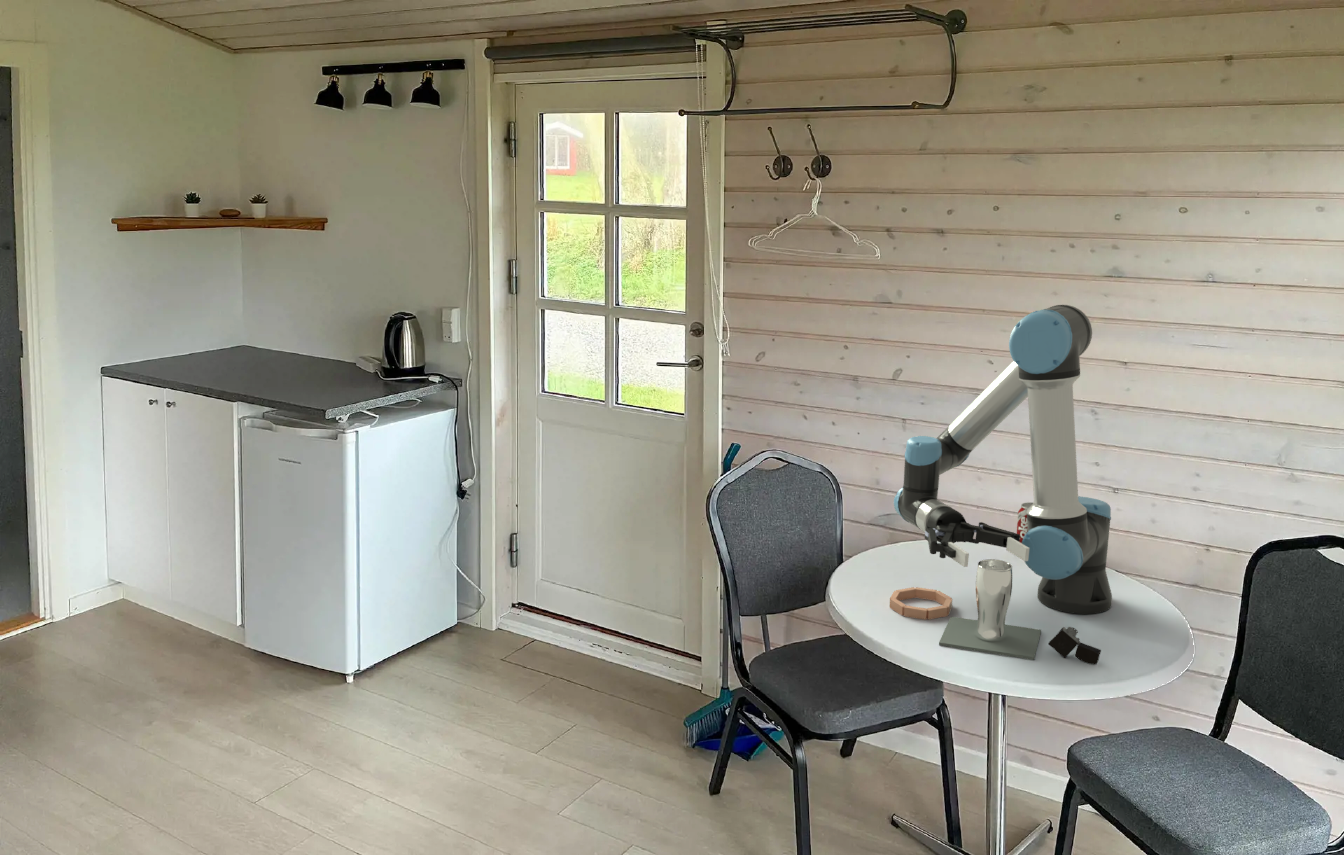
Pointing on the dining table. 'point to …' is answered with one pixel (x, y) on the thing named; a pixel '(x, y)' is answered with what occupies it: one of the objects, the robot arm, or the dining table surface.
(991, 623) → the beer glass
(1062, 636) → the lighter
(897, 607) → the coaster ring
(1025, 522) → the soda can
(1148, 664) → the dining table surface
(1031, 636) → the mat
